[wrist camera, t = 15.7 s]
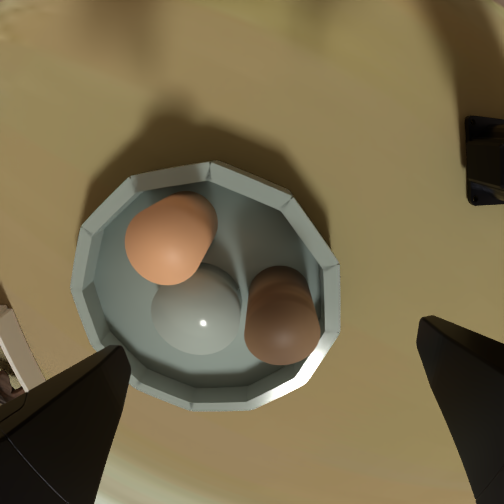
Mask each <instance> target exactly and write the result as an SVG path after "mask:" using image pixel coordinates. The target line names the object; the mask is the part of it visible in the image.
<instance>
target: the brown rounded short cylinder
mask: <svg viewBox="0 0 504 504" xmlns="http://www.w3.org/2000/svg"><path fill="white" fill-rule="evenodd" d="M320 333H321V331H320V325H319V322H318V318H317V314H316V311H315V307H314V303H313V300H312V296H311V293H310V289H309V286H308V283H307V281H306V279H305V277H304V276H303V275H302V274H301V273H300V272H299V271H297V270H295V269H293V268H291V267H288V266H272V267H268V268H266V269H264V270H262V271H261V272H259V273H258V274H257V275H256V276H255V277H254V279H253V280H252V282H251V285H250V288H249V295H248V304H247V312H246V321H245V330H244V340H245V343H246V346H247V348H248V349H249V351H250V352H251V353H252V354H253V355H254V356H255V357H256V358H258V359H259V360H261V361H263V362H266V363H269V364H273V365H289V364H293V363H296V362H299V361H301V360H303V359H305V358H306V357H307V356H309V355H310V354H311V353H312V352H313V351H314V349H315V348H316V346H317V345H318V342H319V340H320Z"/></svg>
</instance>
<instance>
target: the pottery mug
mask: <svg viewBox="0 0 504 504" xmlns="http://www.w3.org/2000/svg"><path fill="white" fill-rule="evenodd" d="M23 393H25V391H24V389H23V387H22V386H21V387H20V388H18V389H16V390H15V389H14V388H13V387H12V386H11V384H10V379H9V376H8V374H7V373H6V372H5V371H3V370H1V371H0V404H5V403H7V402H9V401H10V400H12V399H14V398H16V397H18V396H20V395H22V394H23Z"/></svg>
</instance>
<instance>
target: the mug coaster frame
mask: <svg viewBox="0 0 504 504" xmlns="http://www.w3.org/2000/svg"><path fill="white" fill-rule="evenodd" d="M0 346H1V348H2V350H3V352H4V354H5V356H6V358H7V360H8V362H9V364H10V366H11V367H12V369H13V371H14V373H15V375H16V377H17V378H18V380H19V382H20V384H21V386H22V387H23V389H24V391H25V392H28V391H29V390H31V389H32V388H34V387H36V386H38V385H40V384H41V383H43V382H45V381H46V380H45V378H44V376H43V374H42V373H41V371H40V369H39V367H38V365H37V363H36V361H35V359H34V357H33V355H32V353H31V350H30V348H29V346H28V344H27V342H26V340H25V337H24V335H23V333H22V331H21V328H20V326H19V324H18V321H17V319H16V316H15V314H14V311H13V309H8V308H7V305H0ZM1 405H3V404H0V406H1Z"/></svg>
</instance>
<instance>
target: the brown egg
mask: <svg viewBox="0 0 504 504" xmlns="http://www.w3.org/2000/svg"><path fill="white" fill-rule="evenodd" d="M217 228H218V218H217V214H216V211H215V209H214V207H213V206H212V204H211V203H210V202H209V201H208V200H207V199H206V198H205V197H204V196H202V195H200V194H198V193H196V192H192V191H179V192H176V193H173V194H171V195H169V196H168V197H166V198H164V199H162V200H160V201H159V202H157V203H155V204H153V205H151V206H150V207H148V208H146V209H144V210H143V211H141V212H139V213H138V214H137V215H136V216H135V217H134V218H133V219H132V220H131V222H130V224H129V225H128V228H127V230H126V235H125V249H126V254H127V257H128V259H129V261H130V263H131V265H132V266H133V268H134V269H135V270H136V271H137V272H138V273H139V274H140V275H141V276H142V277H144V278H145V279H147V280H149V281H151V282H153V283H156V284H160V285H175V284H179V283H181V282H184V281H185V280H187V279H189V278H190V277H191V276H192V275H193V274H194V273H195V272H196V270H197V269H198V267H199V265H200V263H201V261H202V259H203V258H204V256H205V254H206V252H207V250H208V248H209V247H210V245H211V243H212V241H213V239H214V237H215V235H216V232H217Z"/></svg>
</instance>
